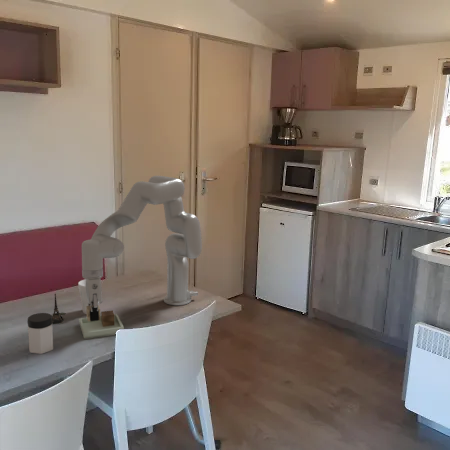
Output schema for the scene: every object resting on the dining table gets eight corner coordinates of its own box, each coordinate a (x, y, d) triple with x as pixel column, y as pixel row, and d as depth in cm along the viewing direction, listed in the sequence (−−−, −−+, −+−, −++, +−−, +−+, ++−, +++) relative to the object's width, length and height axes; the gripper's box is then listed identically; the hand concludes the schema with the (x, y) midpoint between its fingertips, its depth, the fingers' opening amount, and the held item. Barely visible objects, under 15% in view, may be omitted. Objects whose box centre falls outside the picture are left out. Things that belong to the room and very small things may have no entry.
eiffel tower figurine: (62, 313, 204) (61, 283, 202) (79, 318, 199) (78, 288, 196) (32, 325, 192) (30, 293, 189) (48, 331, 187) (47, 299, 184)
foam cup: (95, 316, 201) (94, 287, 198) (75, 314, 202) (74, 285, 200) (105, 308, 210) (104, 280, 207) (85, 306, 211) (85, 278, 209)
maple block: (98, 315, 187) (98, 304, 186) (100, 320, 183) (100, 308, 182) (86, 317, 185) (86, 306, 184) (88, 321, 181) (87, 310, 180)
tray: (117, 319, 198) (117, 313, 198) (123, 333, 186) (123, 327, 185) (79, 324, 192) (79, 318, 192) (83, 339, 180) (83, 332, 179)
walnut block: (112, 320, 195) (112, 310, 194) (114, 325, 191) (114, 314, 190) (101, 322, 194) (101, 311, 193) (102, 326, 189) (102, 315, 188)
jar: (47, 340, 178) (45, 310, 175) (59, 347, 173) (57, 316, 170) (23, 349, 171) (21, 317, 168) (35, 356, 166) (33, 324, 163)
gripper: (106, 278, 174) (107, 325, 178) (99, 265, 189) (100, 309, 193) (85, 280, 171) (86, 328, 175) (79, 267, 187) (80, 311, 190)
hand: (93, 317), depth 184 cm, fingers closed on maple block, 4 cm apart
